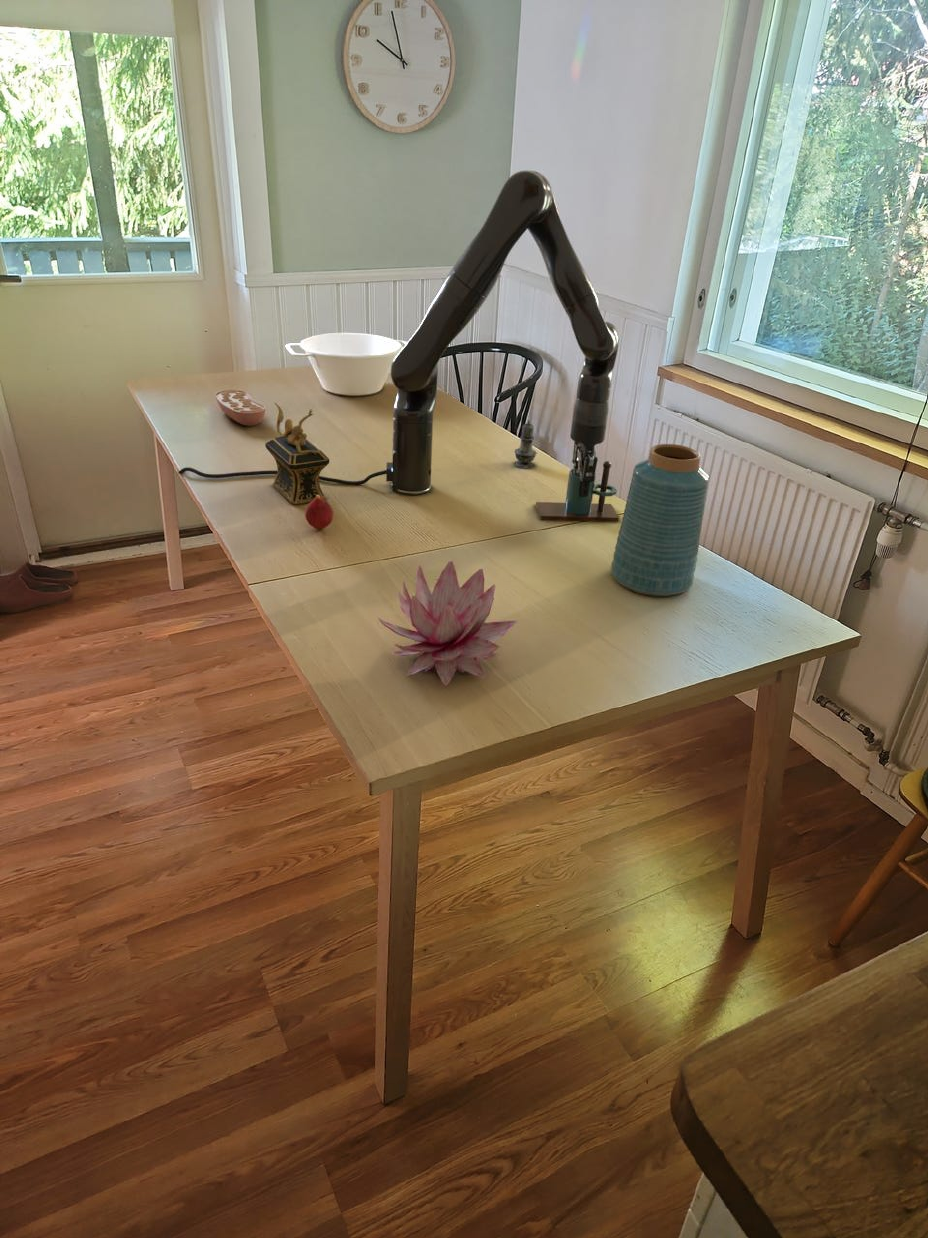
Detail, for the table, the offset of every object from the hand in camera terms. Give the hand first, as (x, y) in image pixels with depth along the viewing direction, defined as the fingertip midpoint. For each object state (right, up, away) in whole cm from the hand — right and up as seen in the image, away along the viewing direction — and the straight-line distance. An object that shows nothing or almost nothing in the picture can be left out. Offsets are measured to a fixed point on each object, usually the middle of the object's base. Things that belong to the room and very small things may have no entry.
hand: (580, 490), depth 191 cm
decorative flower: (-30, -37, -53) cm, 71 cm away
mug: (+2, -4, +3) cm, 5 cm away
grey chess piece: (-11, +11, +29) cm, 33 cm away
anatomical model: (-91, +28, +48) cm, 106 cm away
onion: (-57, -11, -13) cm, 60 cm away
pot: (-63, +45, +80) cm, 111 cm away
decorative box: (-66, +1, +6) cm, 66 cm away
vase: (+11, -22, -24) cm, 34 cm away
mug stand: (0, -5, +3) cm, 6 cm away
